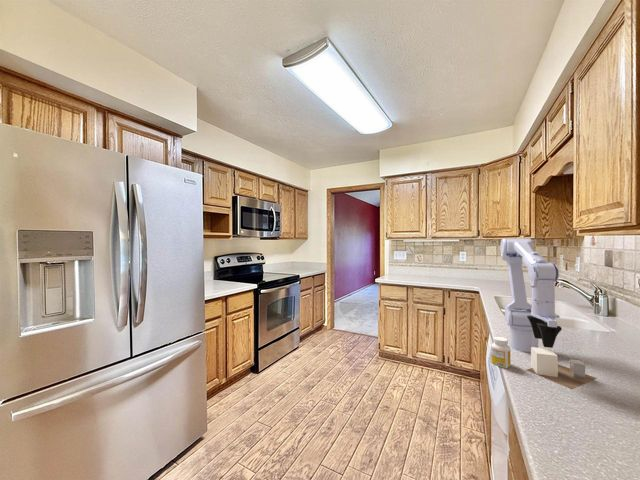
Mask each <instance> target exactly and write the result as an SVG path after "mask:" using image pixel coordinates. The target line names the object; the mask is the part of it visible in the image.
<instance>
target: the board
mask: <svg viewBox="0 0 640 480" xmlns="http://www.w3.org/2000/svg"><path fill="white" fill-rule="evenodd" d="M526 371H527V372H529V373H531V374H534V375H537V376H539V377H541V378H544V379H546V380H548V381H552V382H554V383H556V384H559V385H560V386H563V387H566V388H567V389H571V390H573V389H575V388H578V387H581V386H583V385H585V384H587V383H589V382H591V381H593V380H596V379H597V377H596V376H592V375H589V374H587V373H585V379H580V378H574V377H573V376H572V375H571V374H570V367H567V366H564V365H562V364H558V377H554V376H547V375H540V374H537V373H536V372H535V371H534V370H533V368H532V367H530V368H526Z"/></svg>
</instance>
